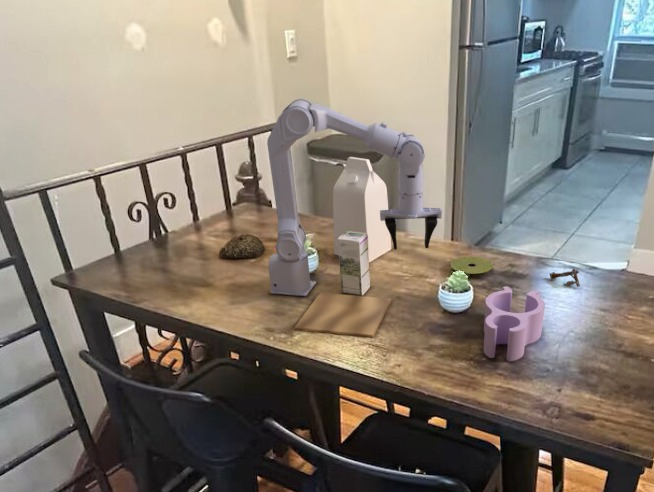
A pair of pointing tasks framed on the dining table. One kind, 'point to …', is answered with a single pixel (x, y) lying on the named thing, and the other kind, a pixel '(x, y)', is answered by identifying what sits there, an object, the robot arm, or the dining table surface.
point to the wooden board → (344, 314)
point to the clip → (511, 323)
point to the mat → (472, 265)
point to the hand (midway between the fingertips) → (410, 247)
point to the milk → (361, 206)
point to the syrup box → (354, 262)
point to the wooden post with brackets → (573, 272)
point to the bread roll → (242, 247)
